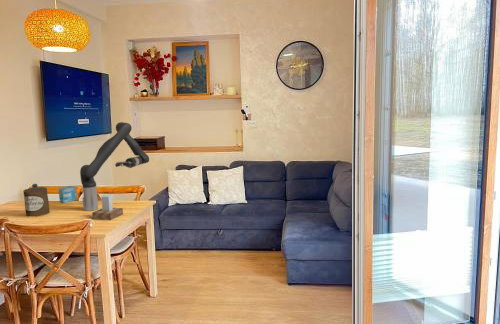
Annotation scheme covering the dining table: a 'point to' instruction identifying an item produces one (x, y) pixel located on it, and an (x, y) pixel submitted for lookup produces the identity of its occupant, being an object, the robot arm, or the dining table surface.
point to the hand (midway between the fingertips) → (121, 165)
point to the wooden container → (36, 201)
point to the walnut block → (107, 214)
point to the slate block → (107, 203)
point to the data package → (67, 194)
